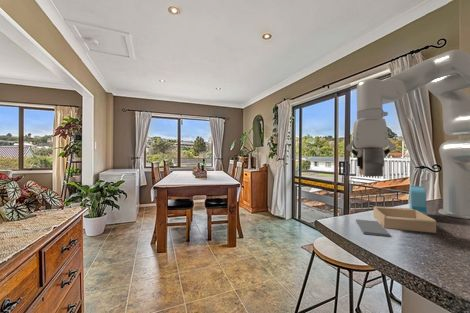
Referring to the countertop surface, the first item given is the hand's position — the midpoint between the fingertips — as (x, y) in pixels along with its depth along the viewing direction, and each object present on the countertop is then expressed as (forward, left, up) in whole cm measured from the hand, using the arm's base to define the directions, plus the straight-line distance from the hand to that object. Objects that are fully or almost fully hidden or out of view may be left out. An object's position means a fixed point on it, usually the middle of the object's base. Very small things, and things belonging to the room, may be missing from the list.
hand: (370, 168), depth 73 cm
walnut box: (0, 0, -2) cm, 2 cm away
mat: (0, 0, -21) cm, 21 cm away
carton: (-11, -9, -21) cm, 26 cm away
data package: (-21, -23, -21) cm, 38 cm away
